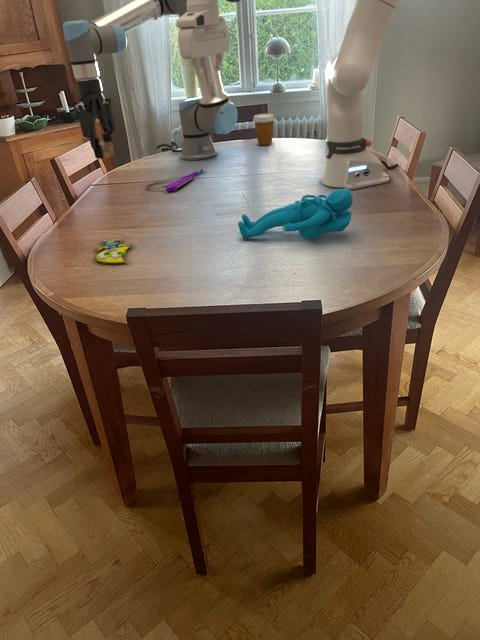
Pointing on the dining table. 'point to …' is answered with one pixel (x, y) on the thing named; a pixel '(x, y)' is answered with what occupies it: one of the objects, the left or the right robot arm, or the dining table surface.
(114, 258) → the toy
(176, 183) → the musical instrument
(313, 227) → the toy
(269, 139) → the beer glass
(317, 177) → the dining table surface
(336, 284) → the dining table surface
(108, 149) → the block
